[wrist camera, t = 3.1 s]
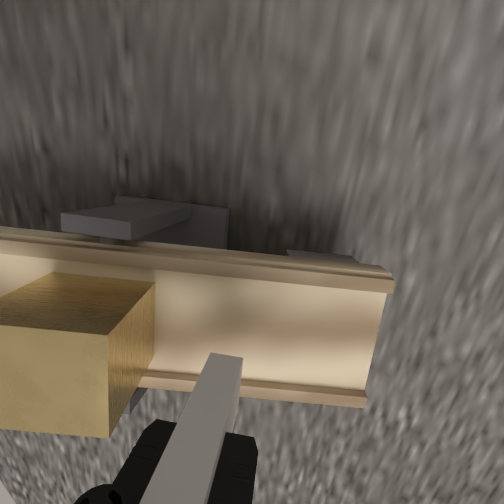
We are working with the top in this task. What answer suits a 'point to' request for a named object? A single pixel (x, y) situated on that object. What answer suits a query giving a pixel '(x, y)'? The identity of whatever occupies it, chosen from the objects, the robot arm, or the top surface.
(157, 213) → the pivot stand
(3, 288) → the beam
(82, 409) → the rider
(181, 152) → the top surface
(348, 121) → the top surface
